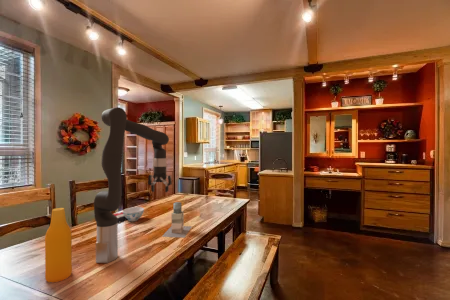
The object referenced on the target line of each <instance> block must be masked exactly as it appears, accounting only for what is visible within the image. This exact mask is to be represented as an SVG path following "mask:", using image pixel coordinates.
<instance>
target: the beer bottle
mask: <svg viewBox="0 0 450 300" xmlns="http://www.w3.org/2000/svg"><path fill="white" fill-rule="evenodd" d="M66 218H67V217H66V210H65V207H59V208H58V207H57V208H56V207H55V208H52V210H51V217H50V224H49V227H48V228H47V230H46V232H45V237H44V243H45V244H44V254H45V255H44V257H45V258H44V259H45V262H44V263H45V264H44V265H45V269H44V270H45V273H44V275H45V276H44V277H45V281H46V282H47V283H50V282H52V284H53V283H57V282H62V281H64V280H66V279H68V278H69V277H70V276H71V275H72V272H73V263H72V261H73V259H72V255H73V253H72V251H73V250H72V248H73V247H72V246H73V245H72V244H73V243H72V230H71V228H70V226H69V224H68V223H67V219H66Z"/></svg>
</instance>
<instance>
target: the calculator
mask: <svg viewBox="0 0 450 300" xmlns="http://www.w3.org/2000/svg"><path fill="white" fill-rule="evenodd" d="M112 214H113V213H112ZM113 215H115V216H116V217H117V220H118V222H117V224H118V223H120V222H124V221H127V220H128V219H127V218H125V216H124V215H123V211H122V212H117V213H114V214H113Z"/></svg>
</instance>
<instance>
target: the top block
mask: <svg viewBox="0 0 450 300" xmlns="http://www.w3.org/2000/svg"><path fill="white" fill-rule="evenodd" d="M184 215H185V214H184V210H182V212H181V213H179V214H175V213H174V211H172V212H171V224H172V223H178V224H181V223H182V222H183V221H184V222H185V219H184V218H185V217H184Z"/></svg>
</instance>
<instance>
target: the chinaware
mask: <svg viewBox="0 0 450 300" xmlns="http://www.w3.org/2000/svg"><path fill="white" fill-rule="evenodd" d="M122 212H123V215H124V216H125V218H127V220H128V221H129V222H137V221H138V220H139V219H140V218H141V217H142V216H143V214H144V212H145V208H144V207H141V206H136V207H135V206H134V207H133V206H132V207H128V208H125V209H123V210H122Z"/></svg>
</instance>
